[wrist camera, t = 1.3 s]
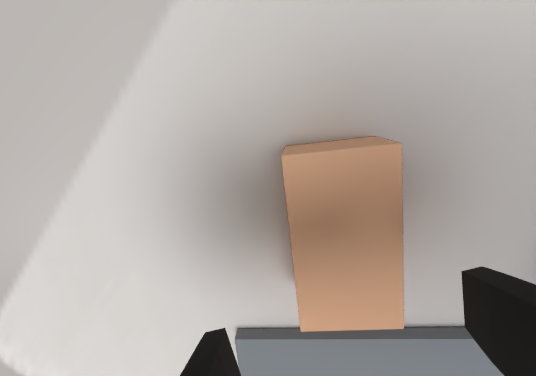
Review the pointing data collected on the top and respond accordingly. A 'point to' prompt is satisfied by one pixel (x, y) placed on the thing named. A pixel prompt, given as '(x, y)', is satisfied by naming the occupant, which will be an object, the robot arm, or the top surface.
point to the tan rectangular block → (346, 233)
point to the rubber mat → (361, 352)
